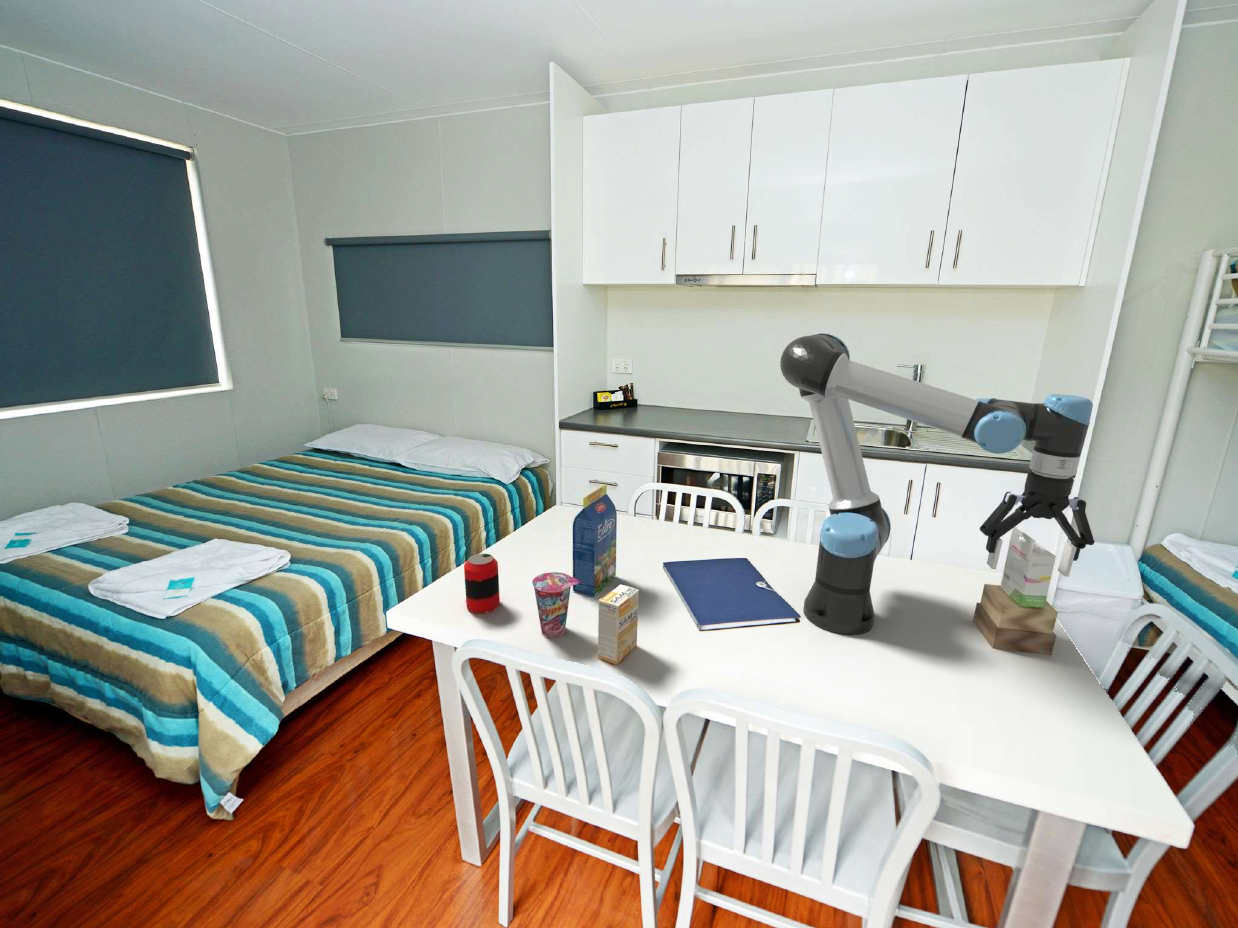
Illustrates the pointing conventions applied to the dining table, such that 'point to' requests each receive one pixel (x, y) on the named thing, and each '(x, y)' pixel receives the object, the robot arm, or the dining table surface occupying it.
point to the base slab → (1012, 636)
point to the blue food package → (594, 543)
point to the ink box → (1027, 571)
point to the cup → (553, 601)
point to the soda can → (481, 583)
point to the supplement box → (617, 623)
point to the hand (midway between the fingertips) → (1026, 570)
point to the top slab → (1016, 612)
